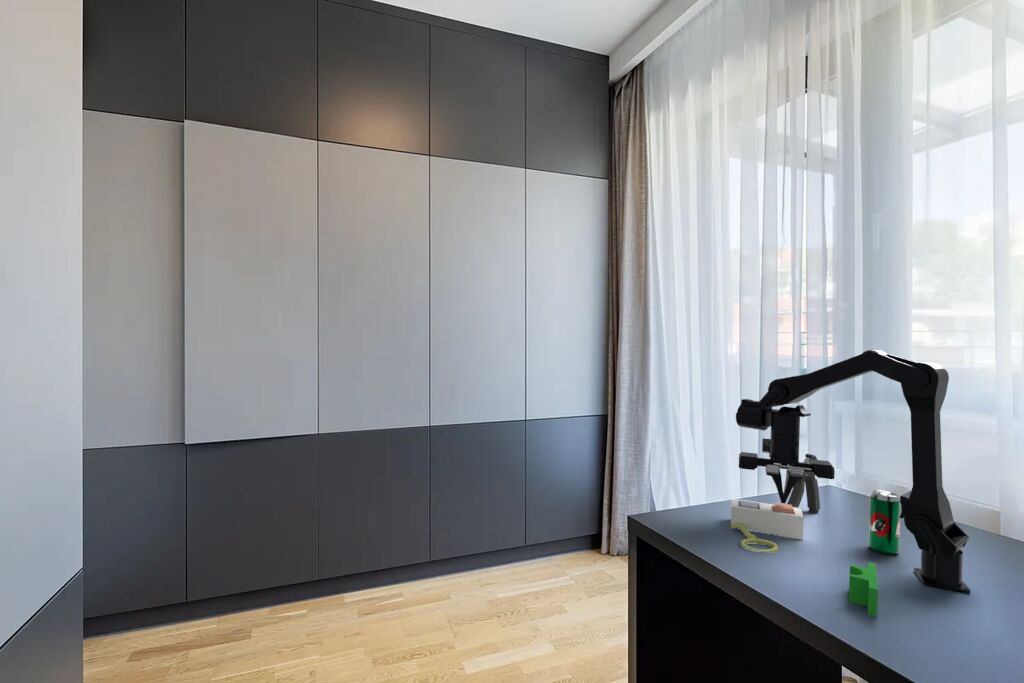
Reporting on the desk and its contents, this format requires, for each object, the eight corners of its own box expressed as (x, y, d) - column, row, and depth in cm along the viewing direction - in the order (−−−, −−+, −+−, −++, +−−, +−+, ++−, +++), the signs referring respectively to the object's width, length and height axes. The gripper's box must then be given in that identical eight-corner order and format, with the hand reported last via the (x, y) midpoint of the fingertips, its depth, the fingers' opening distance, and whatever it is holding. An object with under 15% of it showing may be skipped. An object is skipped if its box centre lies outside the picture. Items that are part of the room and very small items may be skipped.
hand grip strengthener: (781, 517, 123) (782, 456, 123) (811, 510, 129) (813, 451, 129) (790, 520, 121) (791, 458, 121) (820, 513, 127) (822, 453, 127)
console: (802, 539, 109) (803, 517, 109) (730, 528, 115) (731, 506, 115) (799, 529, 115) (800, 508, 115) (731, 519, 121) (731, 498, 121)
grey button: (757, 527, 114) (757, 507, 114) (740, 524, 116) (740, 505, 116) (756, 522, 118) (757, 502, 117) (740, 519, 119) (740, 500, 119)
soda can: (903, 557, 101) (904, 498, 101) (873, 553, 103) (875, 495, 103) (893, 547, 106) (895, 491, 106) (865, 543, 108) (866, 488, 108)
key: (739, 530, 115) (740, 521, 115) (783, 553, 103) (783, 543, 103) (713, 534, 113) (713, 524, 113) (754, 557, 101) (754, 547, 101)
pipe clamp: (849, 583, 91) (850, 558, 91) (875, 589, 88) (875, 563, 88) (848, 610, 81) (849, 581, 81) (876, 618, 79) (877, 589, 79)
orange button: (792, 530, 111) (793, 509, 111) (774, 527, 113) (774, 507, 113) (791, 524, 115) (791, 504, 115) (773, 522, 116) (773, 502, 116)
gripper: (827, 432, 117) (825, 498, 117) (739, 424, 125) (738, 487, 125) (835, 440, 107) (833, 513, 107) (739, 432, 115) (737, 500, 115)
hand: (783, 502), depth 114 cm, fingers closed
